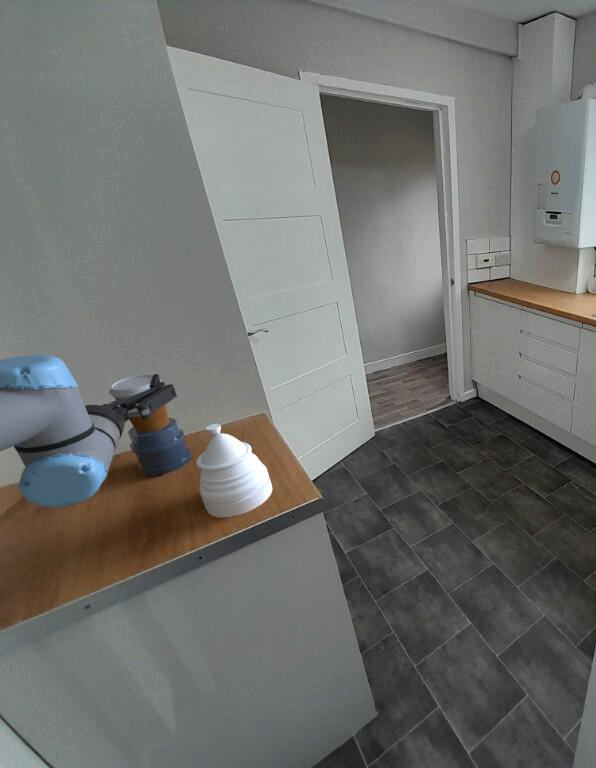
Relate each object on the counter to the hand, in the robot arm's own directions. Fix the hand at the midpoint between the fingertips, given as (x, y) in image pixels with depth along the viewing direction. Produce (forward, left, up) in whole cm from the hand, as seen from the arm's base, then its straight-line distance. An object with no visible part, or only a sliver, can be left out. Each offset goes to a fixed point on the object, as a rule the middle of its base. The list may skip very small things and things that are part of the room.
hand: (113, 387), depth 80 cm
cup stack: (-4, +16, -28) cm, 32 cm away
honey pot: (+17, -4, -28) cm, 33 cm away
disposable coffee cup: (-4, +16, -17) cm, 23 cm away
